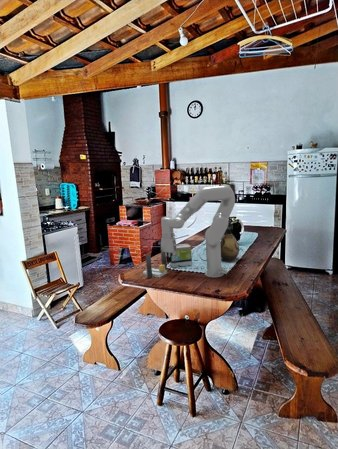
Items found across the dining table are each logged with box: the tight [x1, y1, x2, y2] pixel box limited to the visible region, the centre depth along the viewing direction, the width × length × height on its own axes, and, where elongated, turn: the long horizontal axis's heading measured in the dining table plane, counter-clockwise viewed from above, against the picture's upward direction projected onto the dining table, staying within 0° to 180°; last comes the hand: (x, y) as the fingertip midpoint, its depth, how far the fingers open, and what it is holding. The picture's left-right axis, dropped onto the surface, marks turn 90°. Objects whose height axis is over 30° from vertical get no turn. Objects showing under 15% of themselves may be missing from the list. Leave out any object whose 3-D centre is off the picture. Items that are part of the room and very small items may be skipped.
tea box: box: [169, 243, 193, 269], centre depth 225 cm, size 15×10×15 cm
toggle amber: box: [158, 263, 165, 272], centre depth 210 cm, size 3×3×4 cm
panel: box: [142, 267, 168, 279], centre depth 212 cm, size 14×9×3 cm, turn 56°
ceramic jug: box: [220, 219, 240, 263], centre depth 228 cm, size 17×15×30 cm
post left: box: [145, 253, 153, 279], centre depth 204 cm, size 3×3×16 cm
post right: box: [160, 250, 168, 271], centre depth 218 cm, size 3×3×16 cm
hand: (169, 262), depth 205 cm, fingers closed
